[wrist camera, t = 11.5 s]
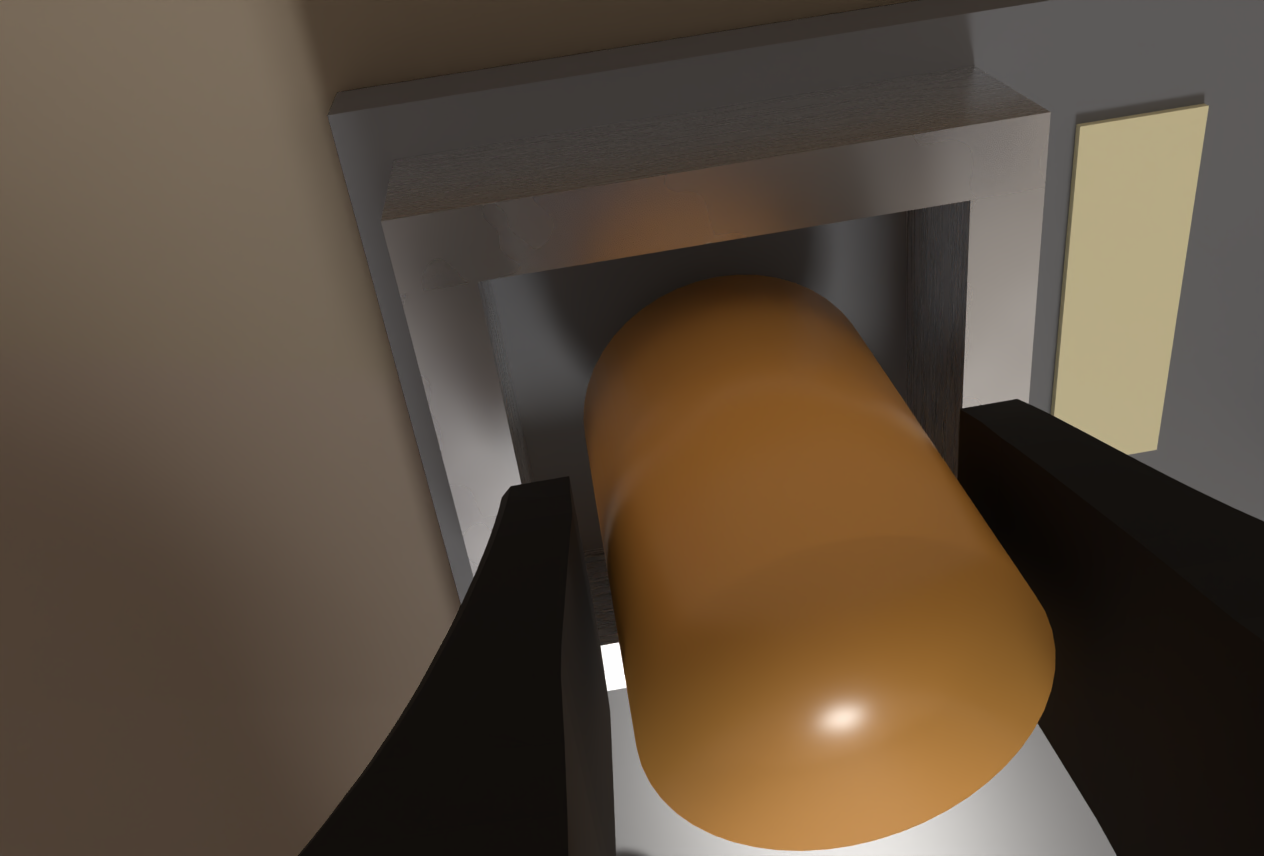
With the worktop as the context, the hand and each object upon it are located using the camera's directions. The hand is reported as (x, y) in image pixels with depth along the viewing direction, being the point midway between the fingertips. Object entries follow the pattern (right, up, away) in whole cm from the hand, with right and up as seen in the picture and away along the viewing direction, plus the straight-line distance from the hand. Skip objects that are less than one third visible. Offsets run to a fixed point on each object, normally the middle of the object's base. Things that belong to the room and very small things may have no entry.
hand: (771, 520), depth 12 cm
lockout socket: (0, +2, +3) cm, 3 cm away
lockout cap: (0, +1, +2) cm, 2 cm away
